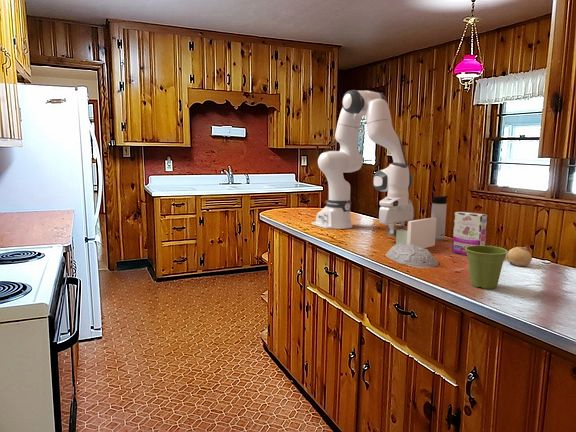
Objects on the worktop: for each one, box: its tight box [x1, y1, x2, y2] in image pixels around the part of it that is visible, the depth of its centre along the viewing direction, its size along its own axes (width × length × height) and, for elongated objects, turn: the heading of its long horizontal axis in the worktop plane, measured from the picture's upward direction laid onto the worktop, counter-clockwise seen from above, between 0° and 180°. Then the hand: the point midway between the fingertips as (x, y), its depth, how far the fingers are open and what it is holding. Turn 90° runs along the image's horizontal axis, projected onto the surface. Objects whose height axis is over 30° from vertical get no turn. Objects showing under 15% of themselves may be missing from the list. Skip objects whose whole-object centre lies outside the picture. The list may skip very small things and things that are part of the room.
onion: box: [505, 246, 533, 267], centre depth 157 cm, size 8×8×7 cm
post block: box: [395, 217, 437, 249], centre depth 184 cm, size 9×18×12 cm, turn 130°
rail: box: [385, 223, 408, 239], centre depth 189 cm, size 14×4×5 cm, turn 40°
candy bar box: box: [451, 211, 488, 257], centre depth 171 cm, size 11×5×16 cm, turn 40°
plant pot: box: [465, 245, 509, 290], centre depth 132 cm, size 12×12×11 cm
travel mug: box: [430, 195, 449, 242], centre depth 198 cm, size 6×7×20 cm
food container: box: [385, 243, 439, 269], centre depth 164 cm, size 16×25×7 cm, turn 22°
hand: (396, 232), depth 191 cm, fingers closed on rail, 4 cm apart
